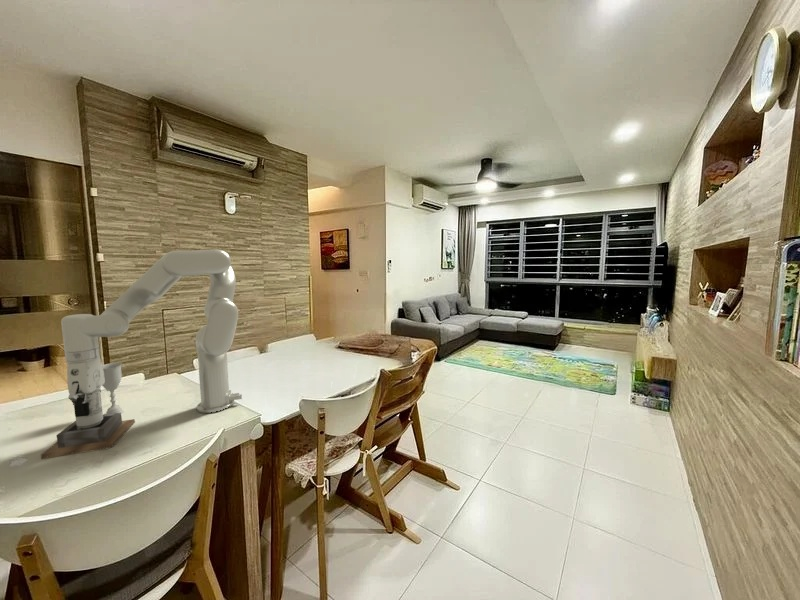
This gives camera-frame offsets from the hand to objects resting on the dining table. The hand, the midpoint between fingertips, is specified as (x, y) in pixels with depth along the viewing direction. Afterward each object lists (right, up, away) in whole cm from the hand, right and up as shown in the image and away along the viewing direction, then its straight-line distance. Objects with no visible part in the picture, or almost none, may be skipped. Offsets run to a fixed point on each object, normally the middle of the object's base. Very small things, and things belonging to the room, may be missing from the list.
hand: (89, 410), depth 99 cm
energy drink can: (0, -5, +1) cm, 5 cm away
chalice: (-8, -7, +18) cm, 21 cm away
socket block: (0, -9, +1) cm, 9 cm away
